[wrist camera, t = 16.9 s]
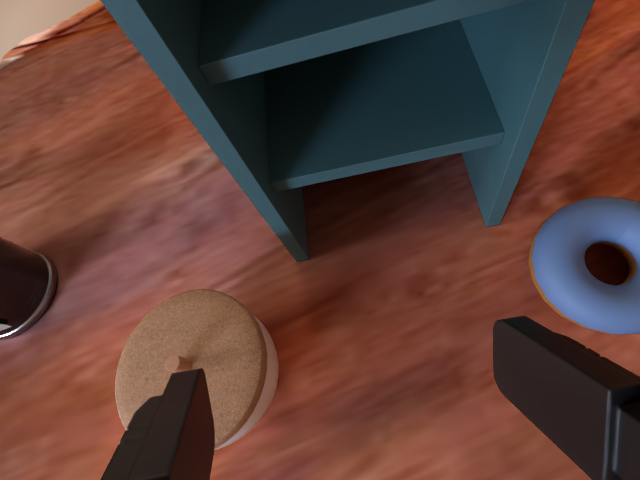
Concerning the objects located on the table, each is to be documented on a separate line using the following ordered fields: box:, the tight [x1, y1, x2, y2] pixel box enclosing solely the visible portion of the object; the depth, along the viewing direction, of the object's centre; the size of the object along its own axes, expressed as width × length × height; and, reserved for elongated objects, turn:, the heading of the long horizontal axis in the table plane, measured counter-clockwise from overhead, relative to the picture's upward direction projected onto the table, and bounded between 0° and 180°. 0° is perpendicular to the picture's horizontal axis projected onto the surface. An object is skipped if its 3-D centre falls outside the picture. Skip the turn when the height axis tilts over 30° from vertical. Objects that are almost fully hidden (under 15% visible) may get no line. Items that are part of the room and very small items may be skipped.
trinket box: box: [115, 289, 279, 450], centre depth 28 cm, size 11×11×9 cm
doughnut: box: [528, 196, 640, 334], centre depth 28 cm, size 10×10×5 cm
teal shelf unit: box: [100, 0, 595, 262], centre depth 25 cm, size 20×18×31 cm
